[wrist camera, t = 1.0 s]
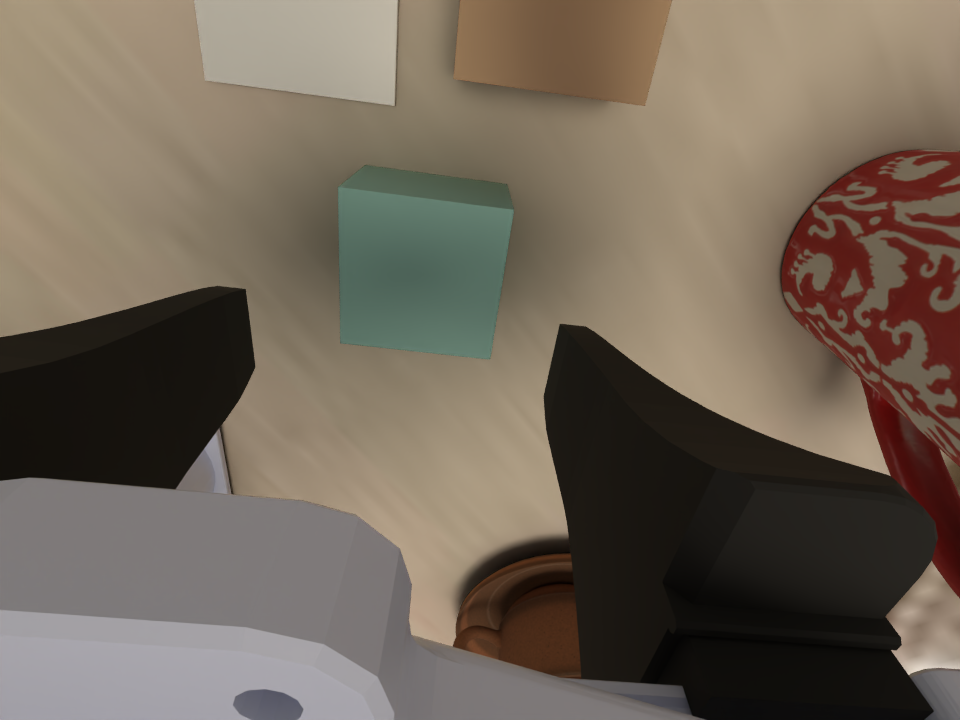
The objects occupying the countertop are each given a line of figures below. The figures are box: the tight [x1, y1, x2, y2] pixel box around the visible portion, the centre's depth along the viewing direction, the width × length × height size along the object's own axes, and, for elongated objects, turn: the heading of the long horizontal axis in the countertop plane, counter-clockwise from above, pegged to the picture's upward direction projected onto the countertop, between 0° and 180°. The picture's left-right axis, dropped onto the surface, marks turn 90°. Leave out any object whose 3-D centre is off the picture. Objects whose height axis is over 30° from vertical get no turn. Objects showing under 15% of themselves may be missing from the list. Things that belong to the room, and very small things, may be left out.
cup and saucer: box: [453, 553, 581, 679], centre depth 27 cm, size 12×12×6 cm
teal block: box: [338, 165, 514, 359], centre depth 17 cm, size 5×5×4 cm
